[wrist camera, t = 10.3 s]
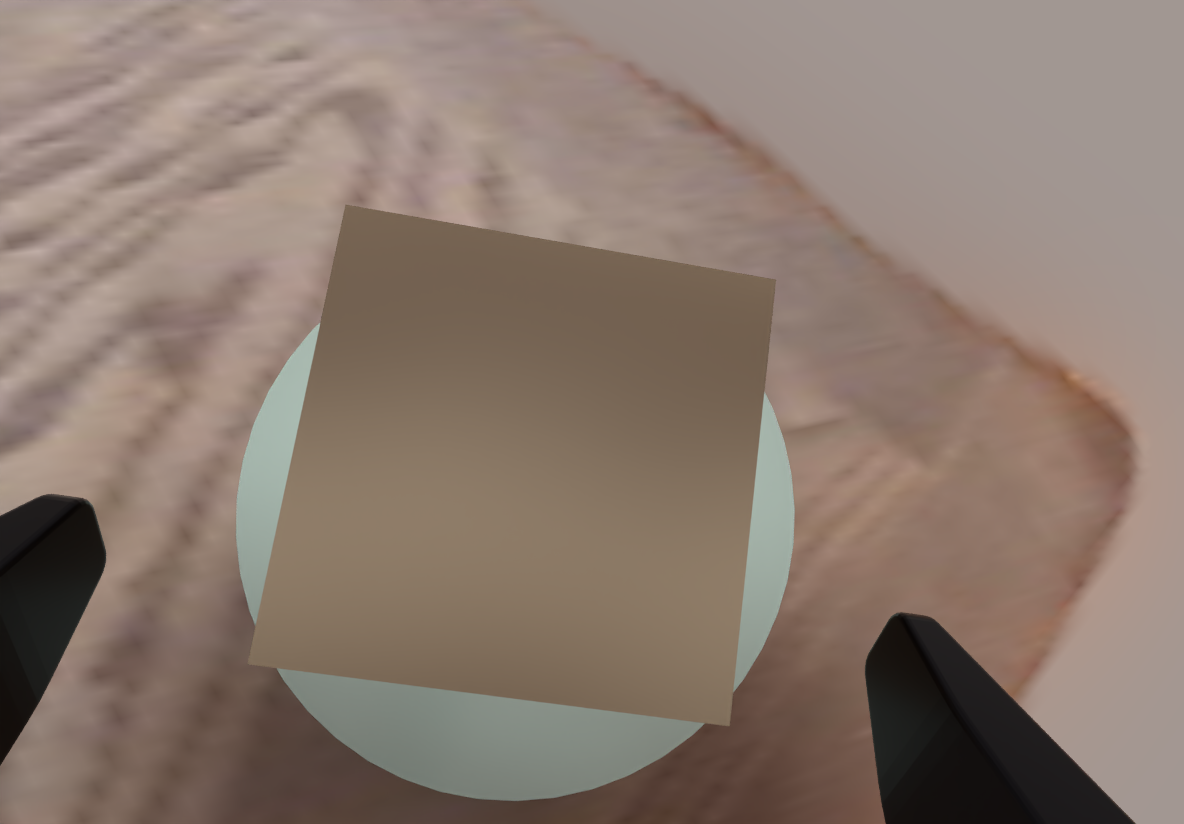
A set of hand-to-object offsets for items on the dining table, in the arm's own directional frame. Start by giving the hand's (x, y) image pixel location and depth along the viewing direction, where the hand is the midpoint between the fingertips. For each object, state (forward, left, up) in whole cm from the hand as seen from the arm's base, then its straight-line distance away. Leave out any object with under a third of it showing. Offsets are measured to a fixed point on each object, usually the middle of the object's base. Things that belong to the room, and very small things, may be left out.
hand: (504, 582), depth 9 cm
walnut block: (+1, 0, -10) cm, 11 cm away
